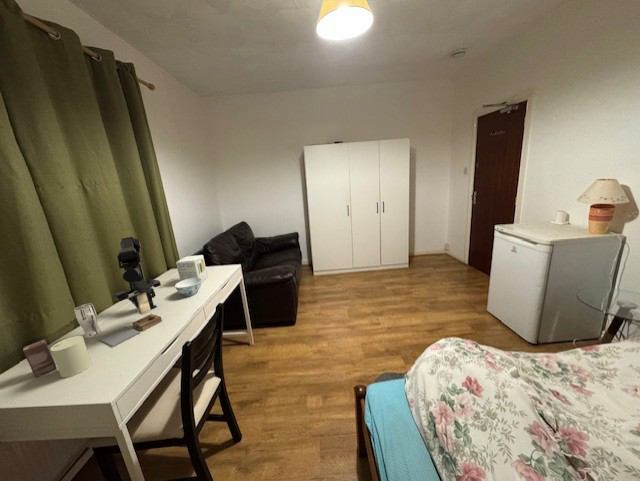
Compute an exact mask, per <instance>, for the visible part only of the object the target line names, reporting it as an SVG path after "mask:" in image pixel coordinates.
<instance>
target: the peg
mask: <svg viewBox="0 0 640 481" xmlns="http://www.w3.org/2000/svg"><path fill="white" fill-rule="evenodd" d="M133 294H134V293H133ZM134 296H136V301H137V303H138V306H139V308H137V307H136V306H135V308H136V311H137V314H139V315H142V316H143V315H145V314H147V313H149V312H152V309H150V306H149V302H148V299H147V295H146V292H145V293H143V294H140V293H136V294H134Z"/></svg>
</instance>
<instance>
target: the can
mask: <svg viewBox="0 0 640 481" xmlns="http://www.w3.org/2000/svg"><path fill="white" fill-rule="evenodd" d="M49 349H50V352H51V354H52V356H53V359H54V361H55V363H56V367H57V369H58V371H59V375H60V378H63V379H66V378H71V377H73V376H76V375H79V374H81V373H82V372H84V371H86V370H88V368H90V367H91V366H92V365H93V360H92V359H91V356H90V353H89V351H88V348H87V346H86V343H85V340H84V337H83V335H74V336H70V337H68V338H65V339H63V340H60V341H59V342H57V343H55V344H53V345H52V346H51V347H50V348H49Z"/></svg>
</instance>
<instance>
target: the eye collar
mask: <svg viewBox="0 0 640 481" xmlns="http://www.w3.org/2000/svg"><path fill="white" fill-rule="evenodd" d="M162 322H163V319H162V316H159V315H157V314H154V313H150V314H148V315H146V316H144V317H142V318H140V319H138V320H135V321H133V322H132V326H133V329H134V328H135V329H136V330H138V331H139V330H140V331H142V332H144V331H146V330H148V329H150V328H152V327H154V326H156V325H158V324H160V323H162Z"/></svg>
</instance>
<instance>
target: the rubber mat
mask: <svg viewBox="0 0 640 481" xmlns="http://www.w3.org/2000/svg"><path fill="white" fill-rule="evenodd" d="M140 334H141V331H139V330H137V329H134V328H131V327H129V326H123V327H121V328H119V329H117V330H114V331H113V332H110V333H108V334H106V335H104V336H102V337H100V338H98V340H99V341H100V342H102V343H104V344H106V345H108V346H110V347H112V348H115V347H117V346H118V345H120V344H122V343H124V342H126V341H128V340H130V339H132V338H134V337H135V336H137V335H140Z"/></svg>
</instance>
